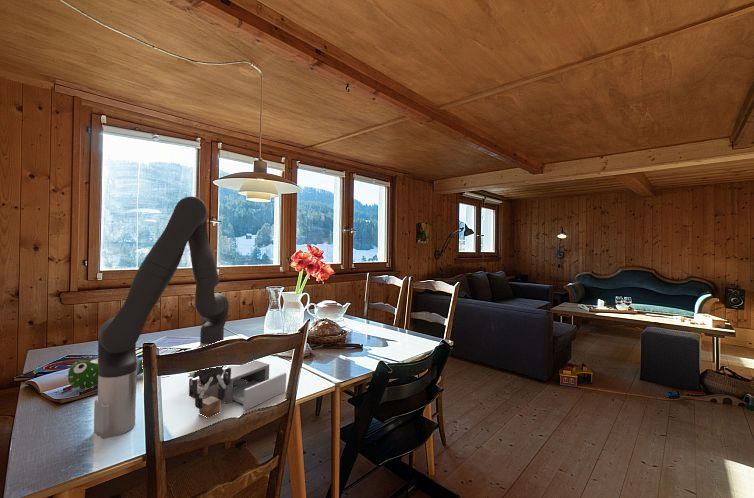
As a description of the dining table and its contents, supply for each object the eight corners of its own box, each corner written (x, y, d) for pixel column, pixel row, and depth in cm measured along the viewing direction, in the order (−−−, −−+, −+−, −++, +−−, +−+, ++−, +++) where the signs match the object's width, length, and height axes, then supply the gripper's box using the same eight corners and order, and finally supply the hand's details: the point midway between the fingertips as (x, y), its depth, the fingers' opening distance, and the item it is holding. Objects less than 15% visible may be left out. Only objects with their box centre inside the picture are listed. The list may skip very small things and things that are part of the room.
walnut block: (207, 418, 113) (208, 404, 113) (199, 414, 115) (199, 401, 115) (219, 412, 117) (220, 399, 117) (211, 409, 119) (211, 396, 119)
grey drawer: (285, 390, 135) (286, 373, 134) (245, 410, 118) (245, 390, 118) (257, 381, 142) (258, 364, 142) (216, 398, 126) (216, 379, 126)
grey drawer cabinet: (268, 385, 139) (269, 364, 139) (227, 403, 123) (228, 380, 123) (241, 376, 147) (242, 356, 147) (199, 392, 131) (200, 369, 131)
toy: (170, 351, 142) (74, 362, 119) (168, 380, 140) (70, 397, 117) (150, 350, 155) (61, 360, 133) (149, 376, 154) (58, 391, 131)
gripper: (198, 363, 107) (196, 415, 108) (237, 351, 120) (236, 398, 120) (183, 358, 111) (182, 409, 112) (223, 347, 124) (221, 392, 124)
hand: (210, 403), depth 116 cm, fingers open, 7 cm apart
